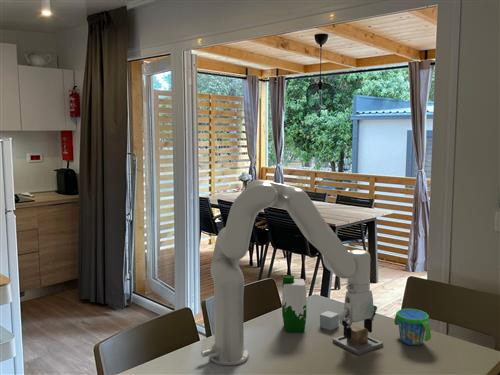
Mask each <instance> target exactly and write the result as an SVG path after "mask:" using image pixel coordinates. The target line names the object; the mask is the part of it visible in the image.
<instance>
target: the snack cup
mask: <svg viewBox="0 0 500 375" xmlns="http://www.w3.org/2000/svg"><path fill="white" fill-rule="evenodd" d="M429 318H430V316H429V314H428V313H427V312H425V311H423V310H420V309H416V308H402V309H398V310H397V311H396V312H395V317H394V322H393V323H394V325H395V326H398V330H399V331H398V332H399V338H400V341H401V342H402V343H404V344H406V345H408V346H421V345H422V344H423V342H428V341H430V340H431V338H432V333H431V327H430V324H429Z"/></svg>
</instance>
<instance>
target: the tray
mask: <svg viewBox="0 0 500 375" xmlns="http://www.w3.org/2000/svg"><path fill="white" fill-rule="evenodd" d="M332 343H334V344H336V345H337V346H340V347H341V348H343V349H345V350H347V351H349V352H351V353H353V354H355V355H357V356H359V355H362V354H365V353H367V352H371V351H374V350H375V349H380V348H382V347H384V342H382V341H380V340H378V339H376V338H373V337H372V336H370V335H368V343H367V344H364V345H361V346H358V347H357V346H355V345H353V344H351V343H349V342H347V338H346V337H344V334H343V335H340V336H337V337H334V338H332Z"/></svg>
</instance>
